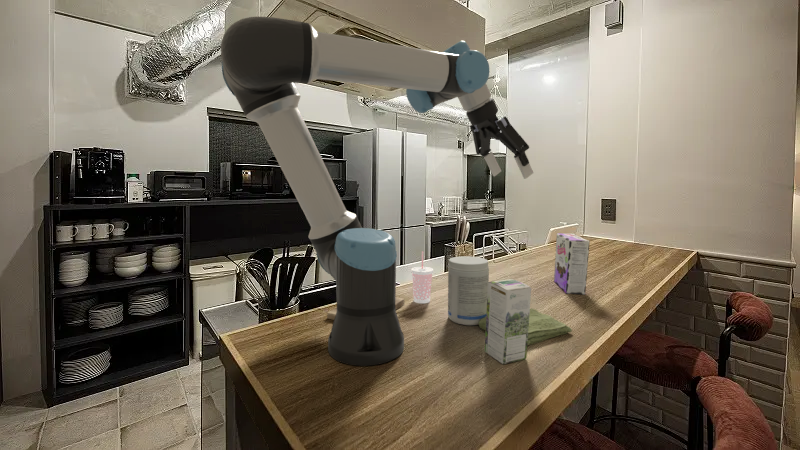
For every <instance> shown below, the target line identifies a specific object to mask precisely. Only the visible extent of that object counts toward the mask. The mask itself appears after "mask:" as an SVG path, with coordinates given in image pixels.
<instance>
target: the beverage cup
mask: <svg viewBox="0 0 800 450" xmlns="http://www.w3.org/2000/svg"><path fill="white" fill-rule="evenodd" d="M410 271H411V273H412V275H411V276H412V294H413V302H415V303H416V304H428V303H430V302H431V293H432V280H433V273H434V268H433V267H429V266H424V251H422V250H421V266H415V267H411V270H410Z"/></svg>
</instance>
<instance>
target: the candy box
mask: <svg viewBox="0 0 800 450" xmlns="http://www.w3.org/2000/svg"><path fill="white" fill-rule="evenodd" d="M555 240H556V243H555V259H554V260H555V261H554V274H553V275H554V276H553V281H554V283H555V284H556V285H557V286H558V287H559V288H560V289H561V290H562V291H563V292H564V293H565V294H568V295H569V294H571V295H583V296H584V295H586V290H587V279H588V267H589V266H588V264H589V253H590V243H591V242H590V240H588V239H586V238H583V237H581V236H579V235H577V234H576V233H567V232H566V233H565V232H564V233H561V232H560V233H559V232H558V233H556V239H555Z"/></svg>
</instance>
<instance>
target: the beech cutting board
mask: <svg viewBox="0 0 800 450" xmlns="http://www.w3.org/2000/svg"><path fill="white" fill-rule="evenodd" d="M404 305H405V298H402V297H398V296H396V300H395V308H396V310H398V309H400V308H401V307H402V306H404ZM336 312H337V307H335V308H333V309H331V310H329V311H328V312H326V319H329V320H333V321H334V319H335V316H336Z"/></svg>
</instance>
